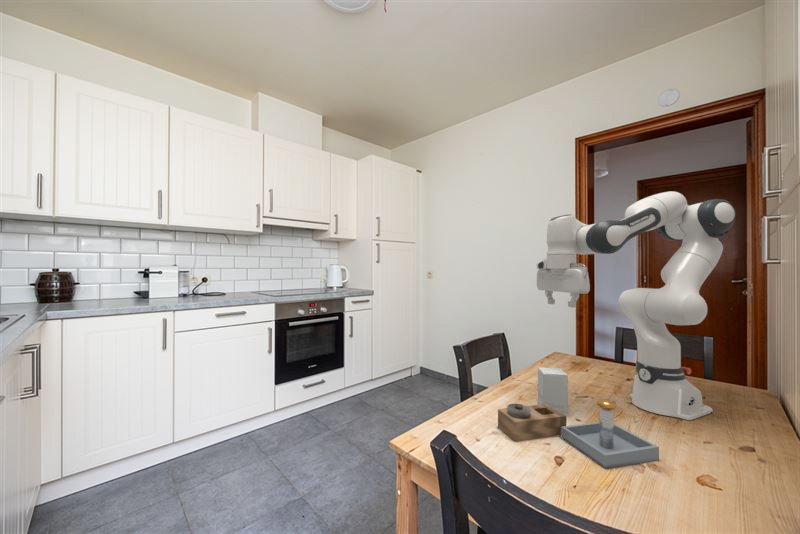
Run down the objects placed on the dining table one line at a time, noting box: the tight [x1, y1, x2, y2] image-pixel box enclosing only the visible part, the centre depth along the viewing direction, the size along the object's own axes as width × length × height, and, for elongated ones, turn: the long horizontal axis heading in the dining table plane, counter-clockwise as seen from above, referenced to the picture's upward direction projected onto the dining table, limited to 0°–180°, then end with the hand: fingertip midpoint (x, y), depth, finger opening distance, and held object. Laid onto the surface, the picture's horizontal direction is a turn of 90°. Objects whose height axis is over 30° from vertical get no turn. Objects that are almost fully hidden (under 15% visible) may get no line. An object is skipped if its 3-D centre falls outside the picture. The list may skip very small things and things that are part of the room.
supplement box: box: [537, 366, 569, 416], centre depth 102 cm, size 7×7×13 cm
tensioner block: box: [497, 403, 567, 443], centre depth 89 cm, size 16×8×7 cm, turn 104°
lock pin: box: [596, 398, 617, 449], centre depth 80 cm, size 4×4×11 cm
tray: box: [560, 421, 660, 470], centre depth 80 cm, size 16×14×3 cm
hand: (561, 305), depth 105 cm, fingers open, 8 cm apart
